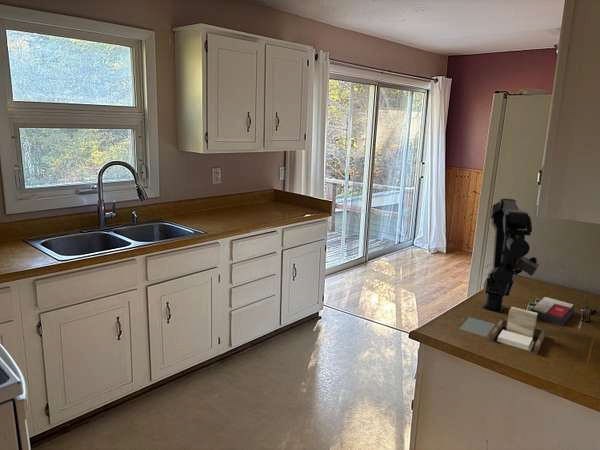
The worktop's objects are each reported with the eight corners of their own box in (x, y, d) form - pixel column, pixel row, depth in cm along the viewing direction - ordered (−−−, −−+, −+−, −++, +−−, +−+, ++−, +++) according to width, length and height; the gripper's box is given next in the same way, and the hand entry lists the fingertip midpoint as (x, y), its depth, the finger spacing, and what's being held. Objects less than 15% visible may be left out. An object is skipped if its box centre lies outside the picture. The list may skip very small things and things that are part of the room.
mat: (469, 318, 166) (469, 317, 166) (495, 325, 161) (495, 324, 161) (458, 330, 157) (458, 328, 157) (486, 338, 152) (486, 336, 152)
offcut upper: (502, 333, 154) (502, 329, 154) (532, 342, 149) (532, 338, 149) (497, 340, 149) (497, 336, 149) (528, 349, 144) (528, 345, 144)
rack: (500, 326, 161) (501, 318, 161) (544, 338, 153) (545, 329, 153) (489, 342, 149) (490, 333, 149) (536, 356, 142) (537, 347, 141)
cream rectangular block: (508, 330, 158) (511, 306, 156) (533, 337, 154) (537, 313, 151) (505, 335, 155) (509, 310, 153) (531, 342, 150) (535, 317, 148)
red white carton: (530, 307, 170) (544, 294, 180) (529, 318, 171) (542, 304, 181) (563, 317, 162) (575, 303, 173) (561, 328, 163) (573, 313, 174)
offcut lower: (501, 336, 155) (501, 333, 155) (533, 346, 149) (534, 342, 149) (496, 344, 149) (496, 340, 149) (529, 354, 144) (530, 350, 143)
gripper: (532, 259, 141) (525, 307, 145) (544, 247, 156) (537, 290, 159) (495, 252, 148) (488, 297, 151) (509, 241, 162) (503, 282, 166)
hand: (505, 292), depth 157 cm, fingers open, 9 cm apart
